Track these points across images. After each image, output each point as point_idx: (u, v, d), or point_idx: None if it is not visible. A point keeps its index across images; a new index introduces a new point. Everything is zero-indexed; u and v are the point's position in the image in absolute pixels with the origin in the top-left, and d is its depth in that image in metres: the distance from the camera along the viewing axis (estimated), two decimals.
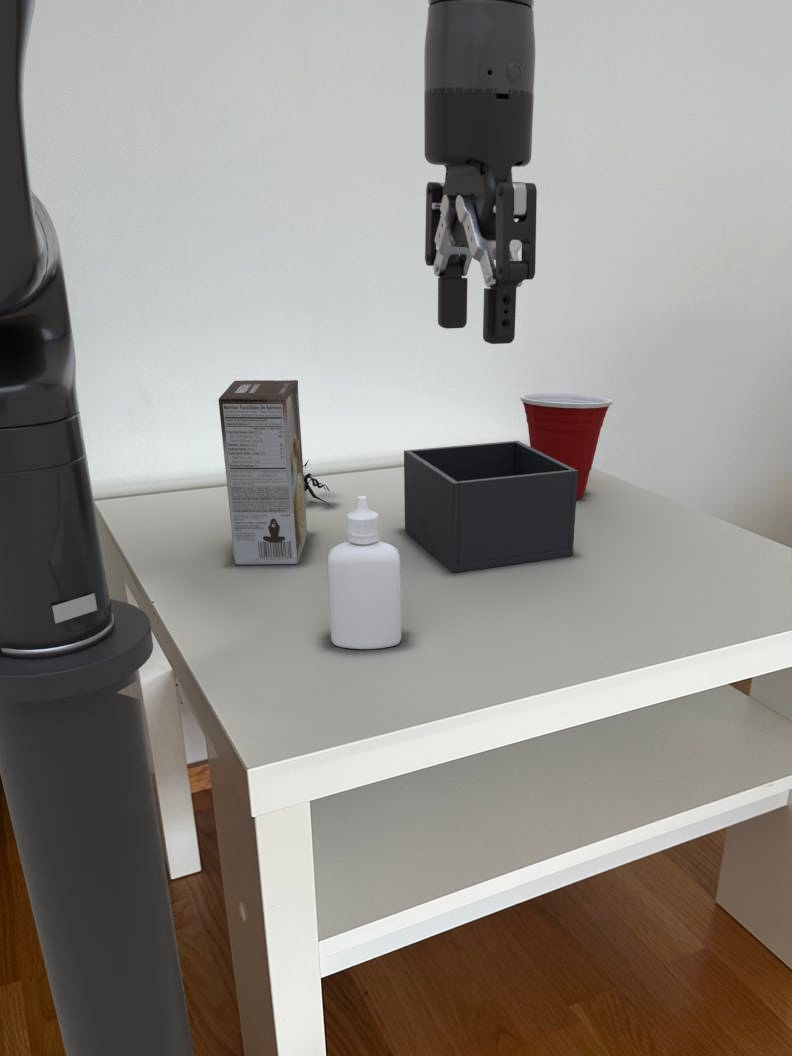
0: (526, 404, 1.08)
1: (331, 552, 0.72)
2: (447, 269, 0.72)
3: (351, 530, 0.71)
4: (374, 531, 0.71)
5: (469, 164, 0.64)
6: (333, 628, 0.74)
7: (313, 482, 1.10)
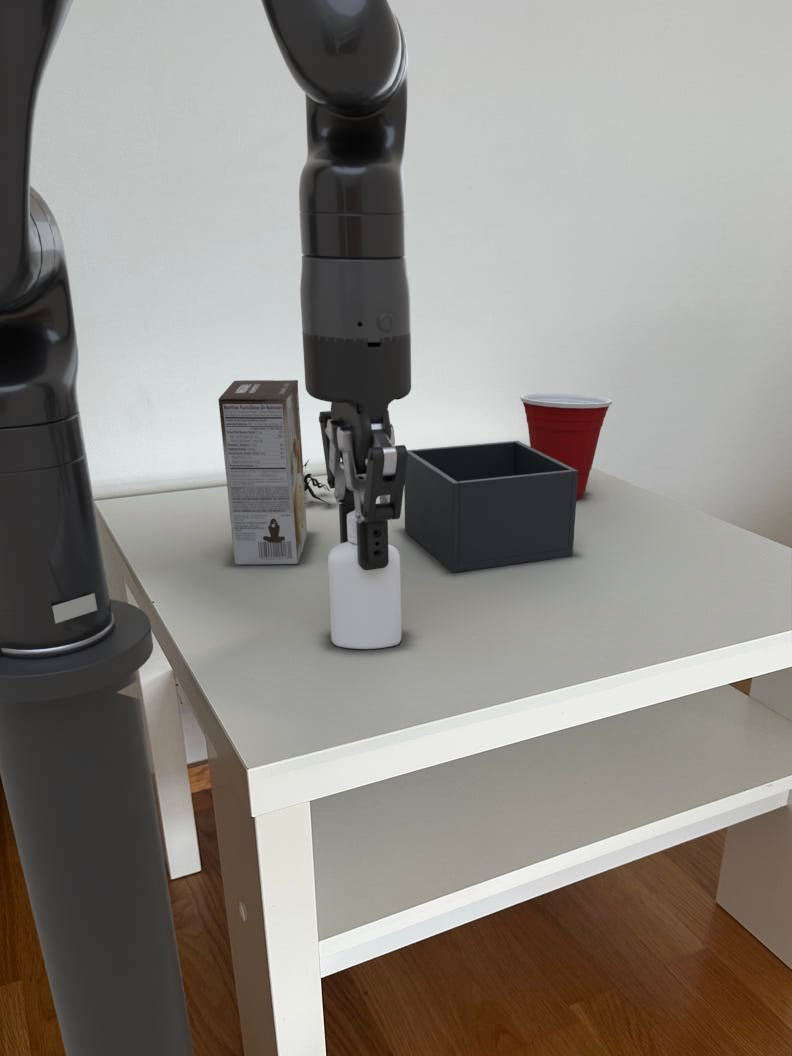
0: (526, 404, 1.08)
1: (331, 552, 0.72)
2: (347, 494, 0.72)
3: (351, 530, 0.71)
4: None
5: (346, 401, 0.65)
6: (333, 628, 0.74)
7: (313, 482, 1.10)
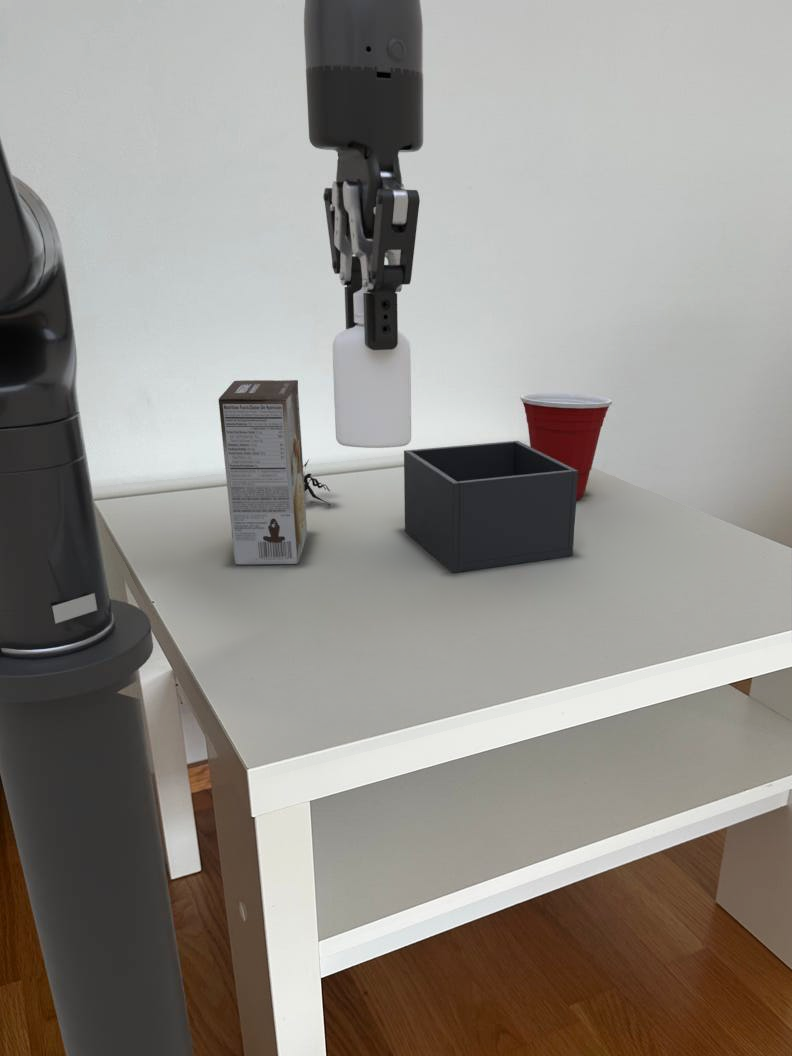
0: (526, 404, 1.08)
1: (336, 336, 0.67)
2: (353, 274, 0.67)
3: (358, 309, 0.66)
4: None
5: (353, 148, 0.60)
6: (338, 424, 0.69)
7: (313, 482, 1.10)
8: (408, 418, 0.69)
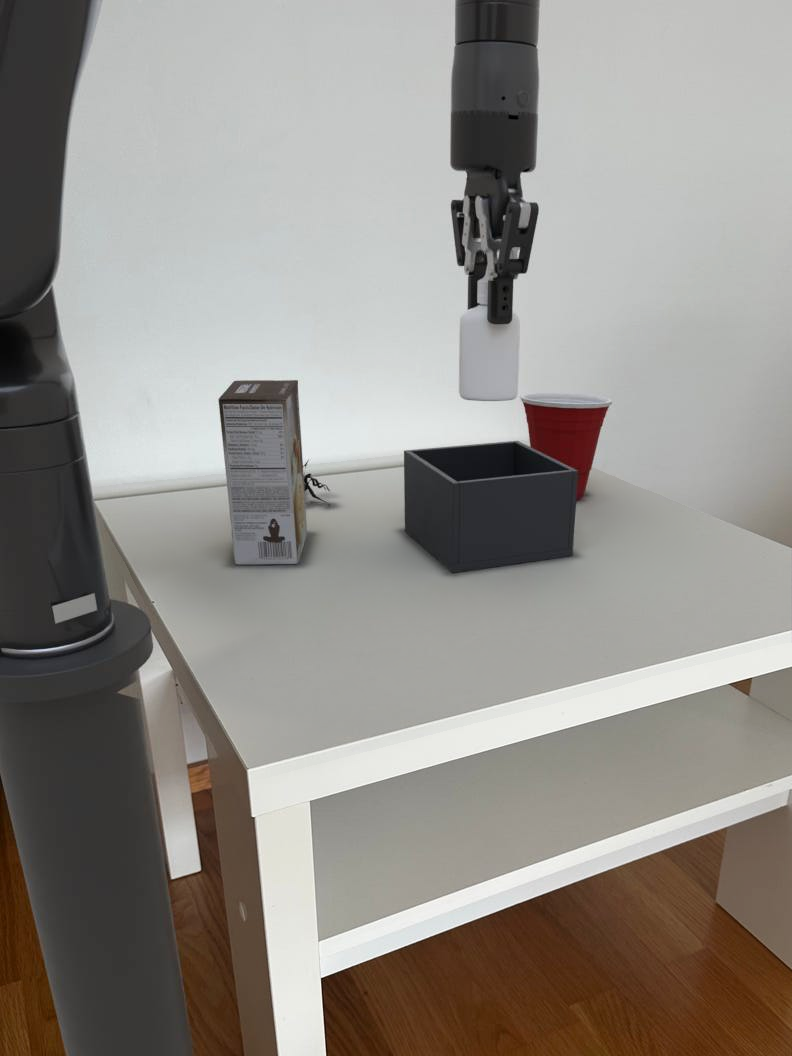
0: (526, 404, 1.08)
1: (463, 314, 0.87)
2: (475, 266, 0.87)
3: (482, 292, 0.85)
4: None
5: (486, 171, 0.80)
6: (462, 382, 0.88)
7: (313, 482, 1.10)
8: (516, 378, 0.89)
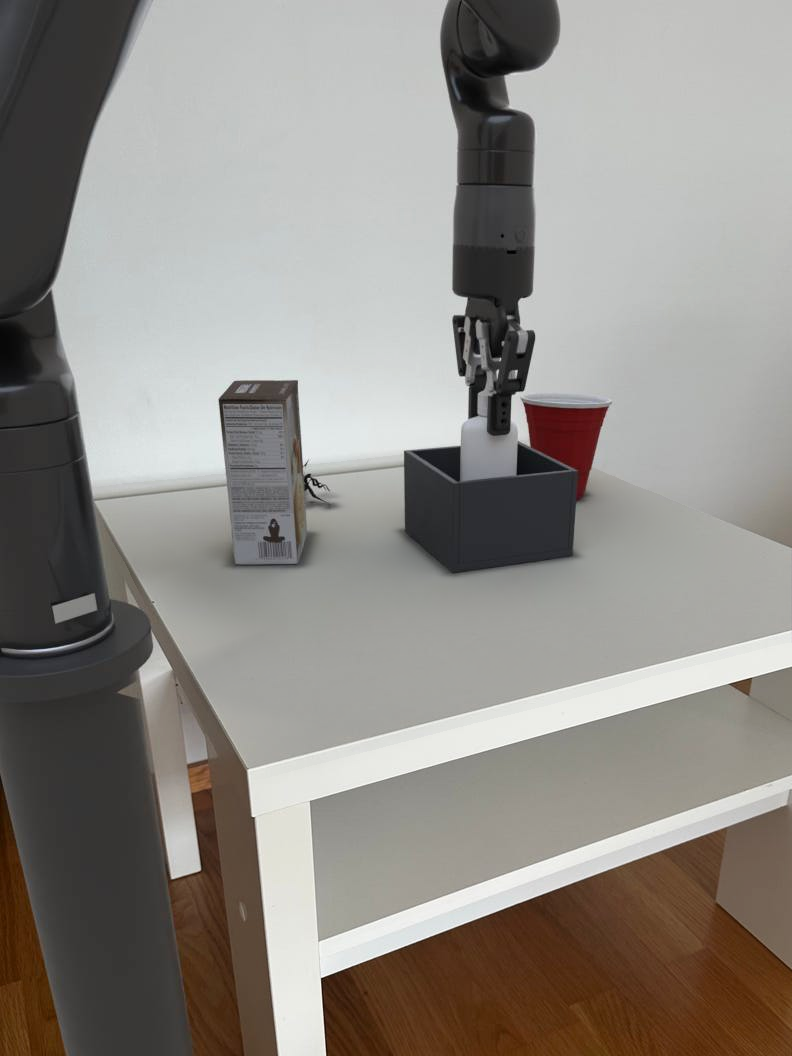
0: (526, 404, 1.08)
1: (464, 424, 0.92)
2: (476, 378, 0.92)
3: (482, 405, 0.91)
4: None
5: (486, 298, 0.85)
6: None
7: (313, 482, 1.10)
8: None
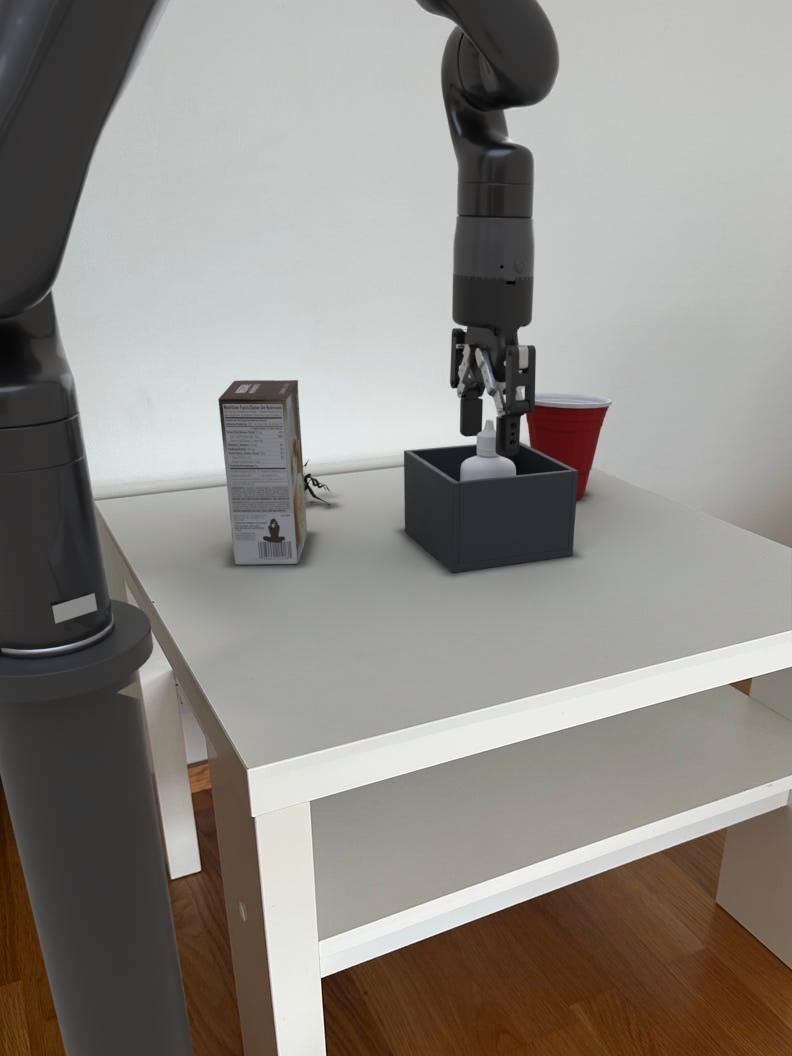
0: None
1: (464, 463, 0.93)
2: (467, 393, 0.94)
3: (481, 445, 0.92)
4: None
5: (486, 327, 0.86)
6: None
7: (313, 482, 1.10)
8: None
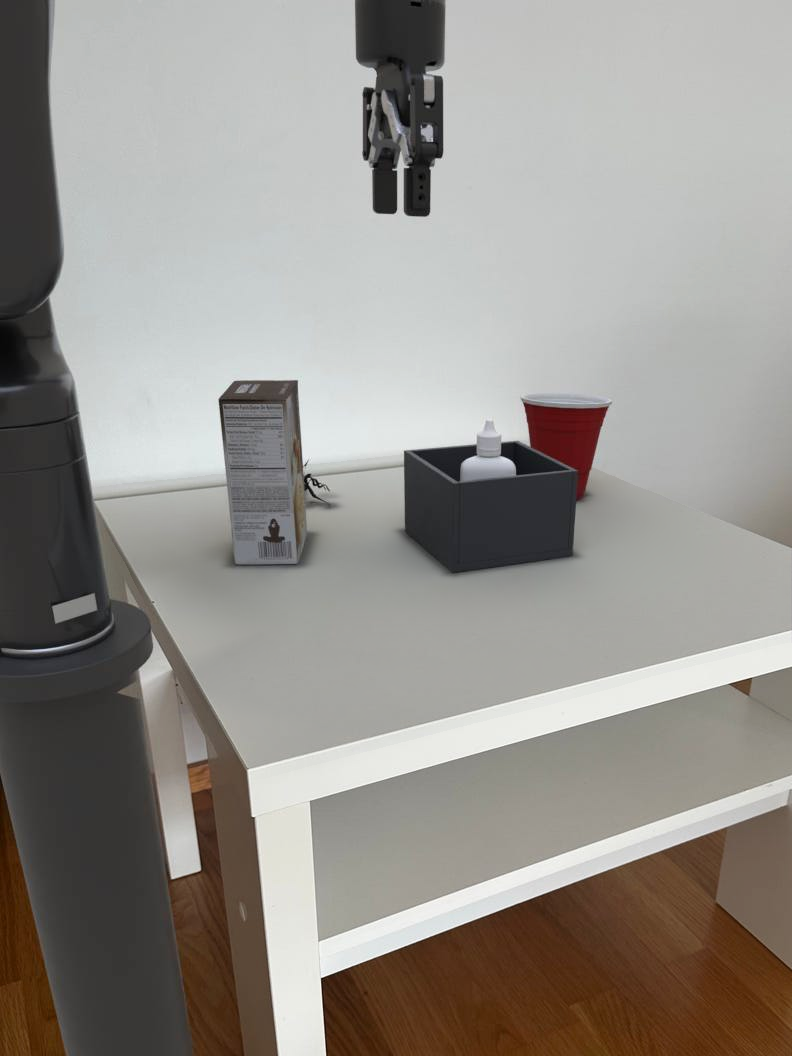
0: (526, 404, 1.08)
1: (464, 463, 0.93)
2: (379, 161, 0.86)
3: (481, 445, 0.92)
4: (498, 446, 0.93)
5: (391, 62, 0.77)
6: None
7: (313, 482, 1.10)
8: None
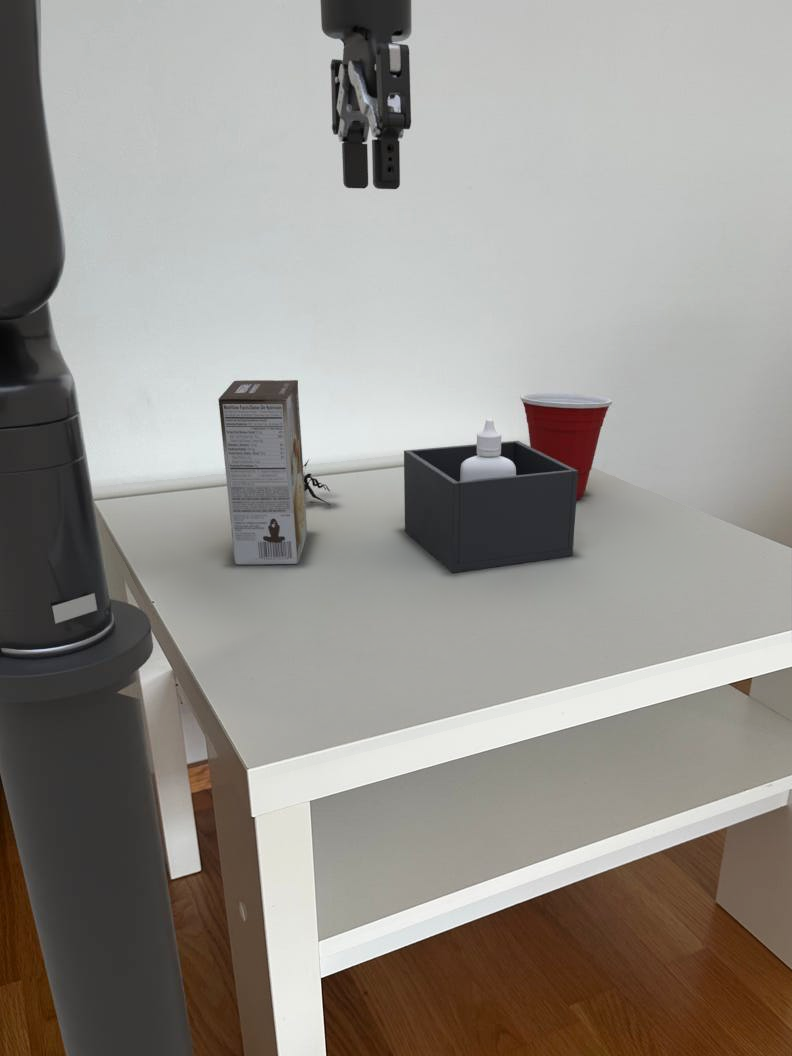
0: (526, 404, 1.08)
1: (464, 463, 0.93)
2: (349, 135, 0.85)
3: (481, 445, 0.92)
4: (498, 446, 0.93)
5: (356, 32, 0.77)
6: None
7: (313, 482, 1.10)
8: None
